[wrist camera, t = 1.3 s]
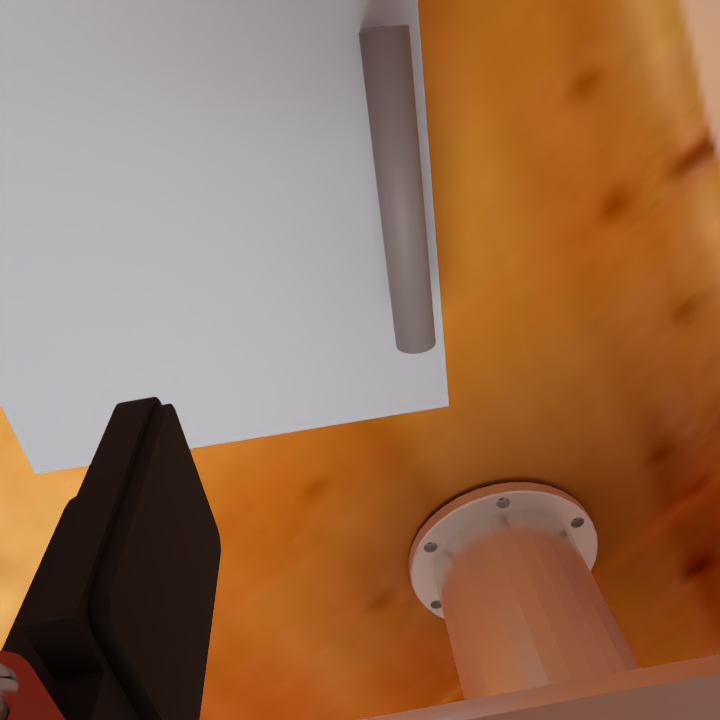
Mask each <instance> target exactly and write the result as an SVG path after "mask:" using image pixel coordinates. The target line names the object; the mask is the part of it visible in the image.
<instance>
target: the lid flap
mask: <svg viewBox="0 0 720 720" xmlns="http://www.w3.org/2000/svg"><path fill="white" fill-rule="evenodd" d="M150 397H157V398H158V399H159V400H160V402H161V403H162V405H164V404H172V405H173V406H174V408H175V410H176V413H177V416H178V418H179V421H180V424H181V427H182V430H183V432H184V435H185V438H186V441H187V444H188V447H189V449H191V448H197V447H203V446H209V445H216V444H222V443H228V442H234V441H240V440H246V439H252V438H258V437H264V436H270V435H276V434H282V433H288V432H295V431H301V430H307V429H313V428H319V427H325V426H331V425H337V424H343V423H349V422H355V421H361V420H367V419H374V418H380V417H386V416H392V415H398V414H404V413H410V412H416V411H422V410H428V409H434V408H440V407H446V406H449V401H448V388H447V375H446V362H445V349H444V336H443V323H442V310H441V297H440V284H439V271H438V258H437V245H436V232H435V219H434V206H433V193H432V180H431V167H430V154H429V141H428V128H427V115H426V102H425V89H424V76H423V63H422V50H421V37H420V24H419V11H418V0H0V406H1V408H2V410H3V412H4V414H5V415H6V417H7V419H8V421H9V423H10V425H11V427H12V429H13V431H14V433H15V435H16V437H17V439H18V441H19V443H20V445H21V447H22V449H23V451H24V453H25V455H26V457H27V459H28V461H29V463H30V465H31V467H32V469H33V471H34V473H35V474H39V473H45V472H51V471H58V470H64V469H70V468H76V467H82V466H88V465H90V464H91V462H92V459H93V457H94V455H95V452H96V450H97V448H98V445H99V443H100V441H101V438H102V436H103V434H104V432H105V429H106V427H107V425H108V422H109V420H110V418H111V415H112V413H113V411H114V408H115V406H116V405H117V404H118V403H121V402H127V401H133V400H138V399H144V398H150Z"/></svg>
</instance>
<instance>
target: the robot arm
mask: <svg viewBox="0 0 720 720" xmlns="http://www.w3.org/2000/svg"><path fill="white" fill-rule="evenodd" d="M597 551H598V537H597V533H596V530H595V527H594V524H593V522H592V521H591V519H590V517H589V515H588V514H587V512H586V510H585V509H584V508H583V507H582V506H581V504H580V503H579V502H578V501H577V500H576V499H574V498H573V497H571V496H570V495H568V494H567V493H565V492H564V491H561V490H559V489H556V488H554V487H551V486H548V485H543V484H538V483H532V482H509V483H501V484H494V485H490V486H487V487H483V488H480V489H476V490H474V491H471V492H469V493H467V494H464V495H462V496H460V497H458V498H456V499H455V500H453V501H451V502H450V503H448V504H447V505H445V506H443V507H442V508H441V509H440V510H439V511H437V512H436V513H435V514H434V515H433V516H432V517H430V518H429V519H428V521H427V522H426V523H425V524H424V526H423V527H422V528H421V529H420V531H419V532H418V534H417V536H416V538H415V540H414V542H413V544H412V547H411V551H410V555H409V573H410V578H411V583H412V587H413V589H414V591H415V594H416V596H417V598H418V599H419V600H420V601H421V603H422V604H423V605H424V606H425V607H426V608H427V609H429V610H430V611H431V612H432V613H434V614H435V615H437V616H439V617H441V618H443V619H445V623H446V627H447V631H448V635H449V639H450V644H451V648H452V652H453V656H454V660H455V664H456V668H457V672H458V676H459V680H460V684H461V689H462V693H463V697H464V701H459V702H453V703H448V704H442V705H437V706H431V707H426V708H421V709H415V710H410V711H404V712H399V713H393V714H388V715H382V716H377V717H372V718H366V719H361V720H720V654H718V655H713V656H707V657H702V658H696V659H690V660H685V661H679V662H674V663H668V664H662V665H657V666H651V667H646V668H640V667H639V665H638V663H637V661H636V659H635V657H634V655H633V653H632V651H631V650H630V648H629V646H628V644H627V642H626V640H625V638H624V636H623V634H622V632H621V630H620V628H619V626H618V624H617V622H616V621H615V619H614V617H613V615H612V613H611V611H610V609H609V607H608V605H607V603H606V601H605V599H604V597H603V595H602V593H601V591H600V589H599V588H598V586H597V584H596V582H595V580H594V578H593V576H592V574H591V570H592V567H593V565H594V563H595V561H596V556H597ZM220 555H221V544H220V536H219V532H218V528H217V526H216V523H215V520H214V517H213V514H212V511H211V509H210V506H209V503H208V500H207V497H206V495H205V492H204V489H203V486H202V483H201V480H200V478H199V475H198V472H197V469H196V466H195V463H194V461H193V458H192V455H191V452H190V449H189V447H188V444H187V441H186V438H185V435H184V432H183V430H182V427H181V424H180V421H179V418H178V416H177V413H176V410H175V408H174V406H173V405H172V404H164V405H162V403H161V402H160V400H159V399H158V398H157V397H150V398H144V399H138V400H133V401H127V402H121V403H118V404H117V405H116V406H115V408H114V411H113V413H112V415H111V418H110V420H109V422H108V425H107V427H106V429H105V432H104V434H103V436H102V438H101V441H100V443H99V445H98V448H97V450H96V452H95V455H94V457H93V459H92V462H91V464H90V466H89V469H88V471H87V473H86V476H85V478H84V480H83V483H82V485H81V487H80V489H79V492H78V494H77V496H76V497H74V498H73V499H71V500H70V501H69V502H68V504H67V505H66V507H65V509H64V511H63V513H62V516H61V518H60V520H59V522H58V525H57V527H56V529H55V531H54V534H53V536H52V538H51V540H50V543H49V545H48V547H47V549H46V552H45V554H44V556H43V558H42V561H41V563H40V565H39V567H38V570H37V572H36V574H35V576H34V579H33V581H32V583H31V585H30V588H29V590H28V592H27V594H26V597H25V599H24V601H23V603H22V606H21V608H20V610H19V612H18V615H17V617H16V619H15V621H14V624H13V626H12V628H11V630H10V633H9V635H8V637H7V639H6V642H5V644H4V646H3V648H2V651H0V720H199V718H200V710H201V702H202V695H203V687H204V679H205V671H206V664H207V656H208V648H209V640H210V632H211V625H212V617H213V609H214V601H215V594H216V586H217V578H218V570H219V563H220Z"/></svg>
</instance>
